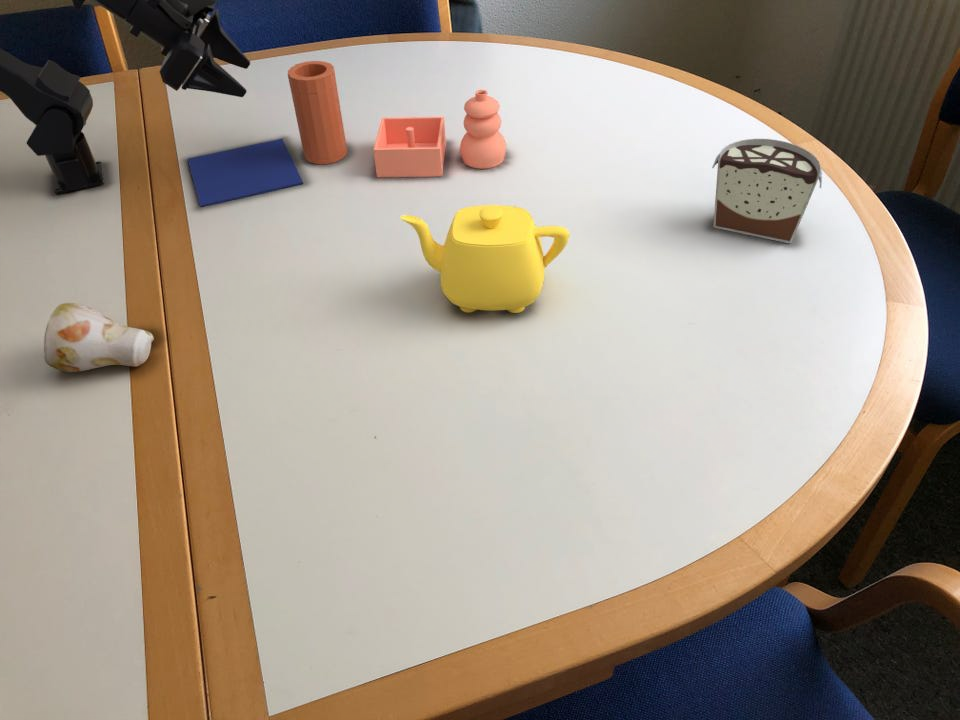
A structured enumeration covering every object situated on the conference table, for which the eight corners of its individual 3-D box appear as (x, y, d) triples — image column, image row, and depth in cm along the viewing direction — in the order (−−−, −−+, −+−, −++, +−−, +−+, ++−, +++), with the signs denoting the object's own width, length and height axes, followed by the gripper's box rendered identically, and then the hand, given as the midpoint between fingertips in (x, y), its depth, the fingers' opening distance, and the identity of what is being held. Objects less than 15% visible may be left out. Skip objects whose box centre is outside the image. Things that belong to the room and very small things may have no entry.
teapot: (403, 322, 87) (392, 241, 80) (415, 262, 95) (406, 184, 88) (567, 324, 86) (571, 242, 79) (565, 264, 94) (569, 184, 87)
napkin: (187, 160, 116) (187, 158, 116) (282, 140, 119) (282, 138, 119) (200, 207, 106) (200, 205, 106) (303, 183, 110) (302, 182, 110)
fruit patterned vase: (155, 384, 82) (70, 334, 75) (94, 402, 86) (9, 357, 79) (174, 324, 86) (96, 272, 79) (115, 345, 90) (36, 297, 83)
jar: (297, 162, 114) (279, 77, 106) (315, 141, 119) (299, 59, 110) (337, 166, 113) (322, 81, 105) (353, 145, 117) (340, 62, 109)
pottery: (377, 177, 110) (367, 110, 104) (385, 144, 117) (376, 79, 111) (506, 175, 110) (505, 108, 103) (506, 142, 117) (505, 77, 110)
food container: (811, 220, 99) (833, 147, 92) (803, 246, 95) (825, 172, 88) (712, 200, 103) (726, 129, 96) (701, 224, 99) (714, 152, 92)
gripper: (158, -28, 88) (279, 61, 97) (178, -74, 102) (282, 8, 110) (110, 50, 93) (229, 127, 101) (135, -4, 106) (238, 69, 115)
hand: (246, 79), depth 107 cm, fingers open, 9 cm apart
